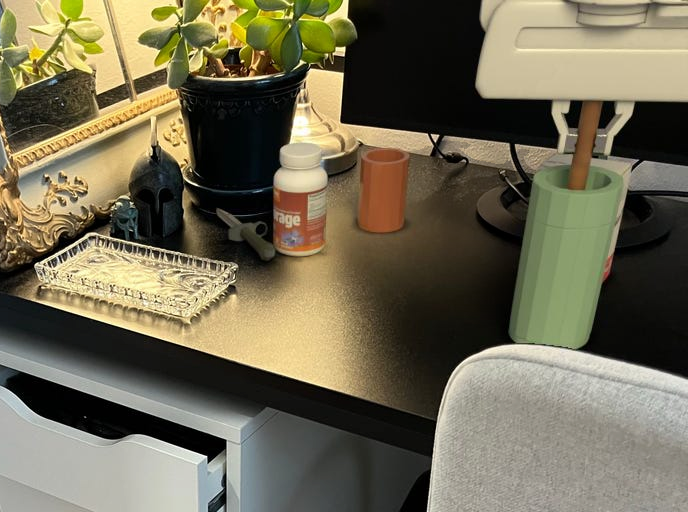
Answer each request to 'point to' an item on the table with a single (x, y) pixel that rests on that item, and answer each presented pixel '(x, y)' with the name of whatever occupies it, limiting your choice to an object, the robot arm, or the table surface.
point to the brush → (584, 144)
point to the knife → (248, 235)
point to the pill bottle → (300, 200)
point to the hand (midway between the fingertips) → (583, 153)
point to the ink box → (615, 166)
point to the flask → (564, 256)
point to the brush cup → (383, 189)
